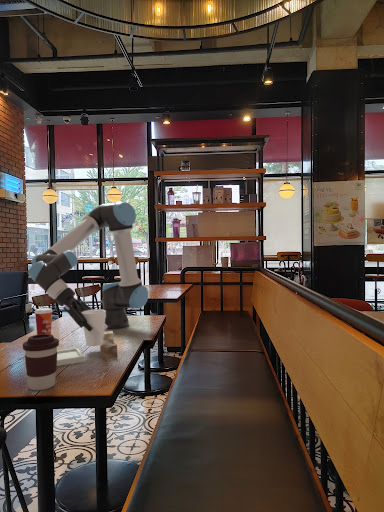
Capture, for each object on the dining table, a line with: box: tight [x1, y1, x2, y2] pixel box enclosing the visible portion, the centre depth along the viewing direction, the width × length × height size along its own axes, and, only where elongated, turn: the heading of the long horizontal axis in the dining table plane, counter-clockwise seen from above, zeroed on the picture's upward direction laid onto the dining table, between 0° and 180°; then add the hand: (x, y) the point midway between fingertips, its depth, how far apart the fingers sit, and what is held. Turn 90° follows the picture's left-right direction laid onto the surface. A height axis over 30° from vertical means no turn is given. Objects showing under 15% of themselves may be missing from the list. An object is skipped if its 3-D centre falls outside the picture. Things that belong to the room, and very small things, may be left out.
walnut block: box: [99, 343, 118, 360], centre depth 134 cm, size 4×4×4 cm
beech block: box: [102, 330, 115, 345], centre depth 155 cm, size 4×4×4 cm
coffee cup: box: [22, 333, 60, 391], centre depth 106 cm, size 10×10×15 cm
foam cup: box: [82, 309, 106, 347], centre depth 142 cm, size 10×9×13 cm
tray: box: [57, 347, 85, 367], centre depth 131 cm, size 13×13×2 cm
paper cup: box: [34, 307, 53, 335], centre depth 162 cm, size 8×8×14 cm
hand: (102, 332), depth 142 cm, fingers closed on foam cup, 9 cm apart
